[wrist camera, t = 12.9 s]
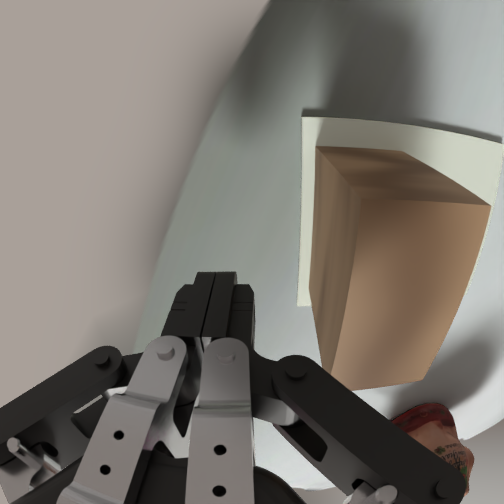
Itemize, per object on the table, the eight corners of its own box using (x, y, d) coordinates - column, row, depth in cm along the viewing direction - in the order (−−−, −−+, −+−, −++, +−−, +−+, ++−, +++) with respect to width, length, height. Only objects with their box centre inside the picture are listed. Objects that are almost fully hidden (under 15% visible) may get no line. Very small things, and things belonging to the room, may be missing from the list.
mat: (501, 143, 14) (504, 144, 13) (464, 291, 20) (466, 294, 19) (301, 116, 14) (302, 117, 14) (296, 302, 20) (297, 306, 20)
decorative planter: (316, 439, 32) (323, 537, 20) (376, 388, 26) (403, 514, 14) (421, 440, 35) (438, 512, 23) (476, 396, 29) (506, 476, 17)
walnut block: (402, 151, 14) (491, 205, 7) (380, 285, 19) (422, 379, 12) (315, 145, 15) (361, 198, 8) (308, 288, 19) (326, 393, 12)
